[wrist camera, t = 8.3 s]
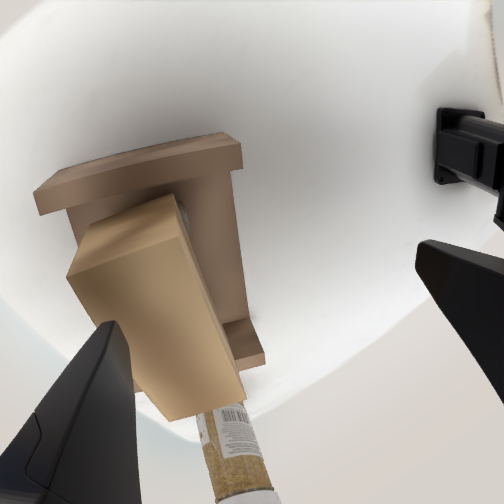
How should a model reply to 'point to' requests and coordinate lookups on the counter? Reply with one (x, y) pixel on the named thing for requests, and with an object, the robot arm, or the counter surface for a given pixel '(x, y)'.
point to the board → (158, 307)
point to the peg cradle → (190, 207)
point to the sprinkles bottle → (234, 457)
